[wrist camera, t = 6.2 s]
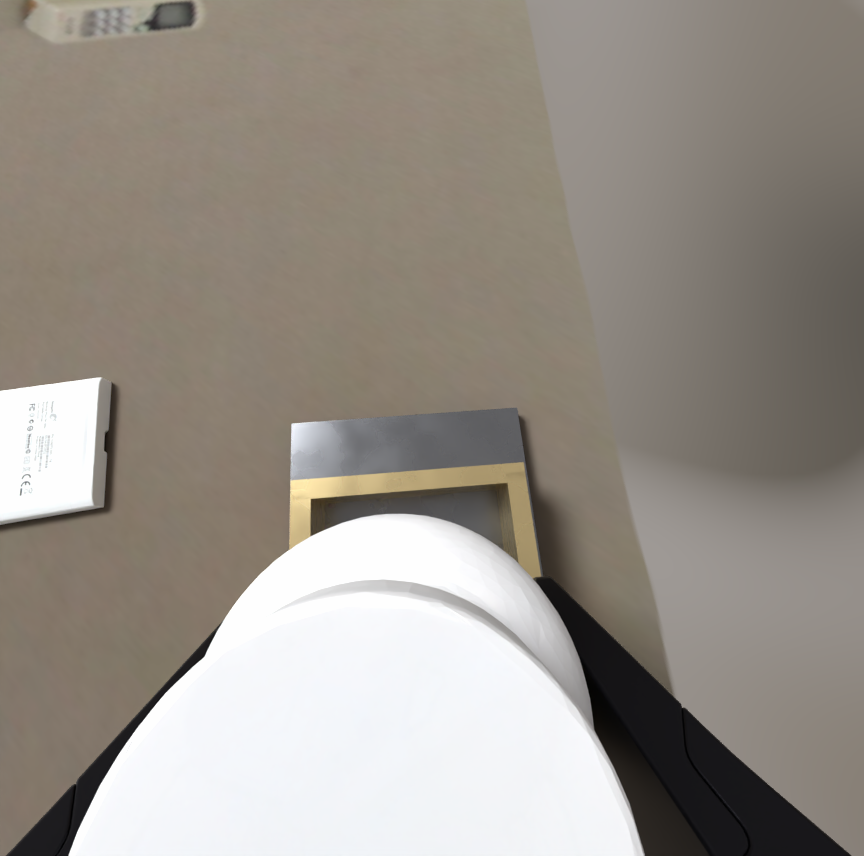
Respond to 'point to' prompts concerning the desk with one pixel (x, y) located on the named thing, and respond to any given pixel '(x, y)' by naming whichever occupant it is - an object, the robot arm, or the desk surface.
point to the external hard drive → (53, 449)
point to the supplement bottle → (373, 716)
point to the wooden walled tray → (417, 475)
